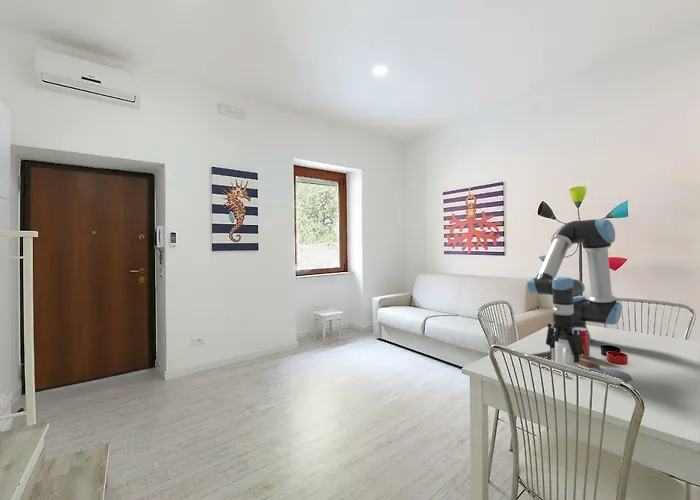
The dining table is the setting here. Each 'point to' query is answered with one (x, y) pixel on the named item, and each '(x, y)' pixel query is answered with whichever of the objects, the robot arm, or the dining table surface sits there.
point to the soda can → (584, 342)
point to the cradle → (581, 362)
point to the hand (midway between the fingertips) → (564, 365)
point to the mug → (563, 352)
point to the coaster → (613, 373)
